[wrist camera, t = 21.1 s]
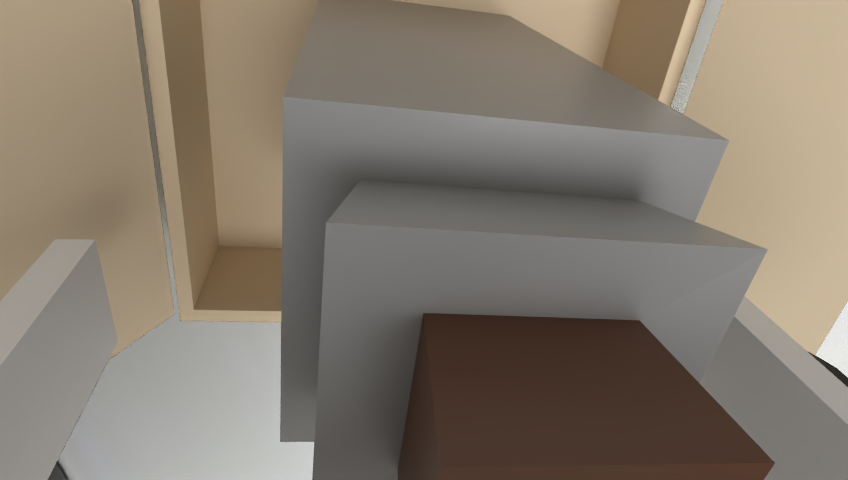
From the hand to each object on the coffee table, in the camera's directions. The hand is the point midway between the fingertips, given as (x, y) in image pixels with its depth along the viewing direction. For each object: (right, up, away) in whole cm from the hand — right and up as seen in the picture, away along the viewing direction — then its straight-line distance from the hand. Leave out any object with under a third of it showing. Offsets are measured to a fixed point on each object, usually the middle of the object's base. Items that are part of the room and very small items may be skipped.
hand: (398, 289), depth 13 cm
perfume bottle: (0, +7, +8) cm, 11 cm away
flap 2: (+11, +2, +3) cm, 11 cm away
